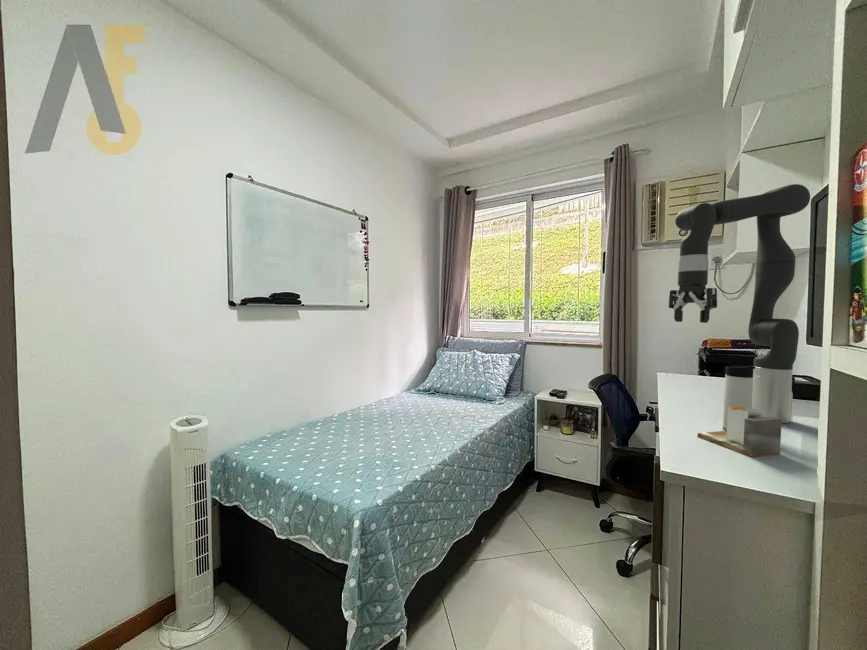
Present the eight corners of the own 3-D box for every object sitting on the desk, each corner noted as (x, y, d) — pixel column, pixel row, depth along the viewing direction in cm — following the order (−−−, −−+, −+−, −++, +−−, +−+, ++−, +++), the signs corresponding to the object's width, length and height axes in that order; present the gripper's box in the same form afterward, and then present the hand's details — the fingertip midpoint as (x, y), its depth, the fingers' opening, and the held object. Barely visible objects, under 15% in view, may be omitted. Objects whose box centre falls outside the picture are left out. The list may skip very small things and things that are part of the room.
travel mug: (745, 437, 99) (749, 367, 98) (718, 429, 105) (721, 363, 104) (756, 433, 102) (759, 365, 101) (728, 426, 108) (731, 362, 107)
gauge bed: (697, 436, 99) (698, 405, 99) (722, 434, 101) (724, 403, 101) (751, 457, 86) (753, 421, 85) (779, 454, 88) (781, 418, 87)
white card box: (720, 440, 93) (721, 404, 93) (739, 438, 95) (741, 403, 94) (740, 447, 88) (742, 410, 88) (760, 445, 90) (761, 408, 89)
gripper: (725, 268, 103) (723, 323, 104) (682, 273, 117) (680, 321, 118) (705, 267, 102) (702, 323, 102) (663, 272, 116) (661, 321, 116)
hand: (690, 322), depth 110 cm, fingers open, 8 cm apart
